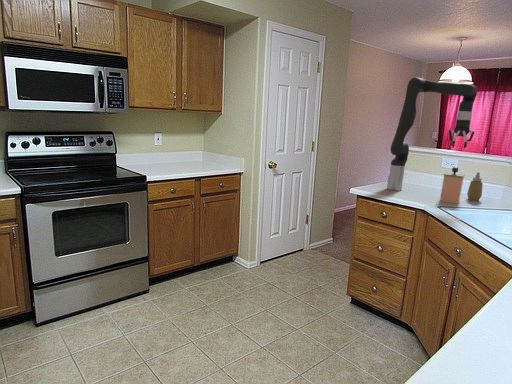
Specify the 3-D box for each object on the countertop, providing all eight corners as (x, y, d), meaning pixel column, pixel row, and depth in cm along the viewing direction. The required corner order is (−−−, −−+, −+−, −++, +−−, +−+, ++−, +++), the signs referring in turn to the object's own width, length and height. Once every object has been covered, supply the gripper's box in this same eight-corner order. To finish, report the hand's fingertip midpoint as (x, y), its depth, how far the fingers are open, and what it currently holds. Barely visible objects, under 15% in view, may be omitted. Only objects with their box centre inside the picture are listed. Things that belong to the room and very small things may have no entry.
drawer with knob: (439, 199, 228) (445, 167, 223) (442, 196, 236) (447, 165, 232) (458, 202, 222) (464, 169, 218) (460, 199, 231) (465, 167, 226)
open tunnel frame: (439, 201, 228) (444, 175, 224) (442, 198, 236) (446, 173, 233) (457, 204, 223) (462, 178, 219) (459, 201, 231) (463, 176, 227)
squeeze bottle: (473, 201, 231) (478, 173, 227) (463, 198, 239) (468, 171, 235) (483, 201, 234) (489, 173, 230) (473, 198, 241) (478, 171, 237)
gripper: (449, 118, 219) (445, 146, 223) (477, 119, 212) (472, 149, 215) (451, 118, 225) (446, 146, 229) (478, 120, 218) (472, 148, 221)
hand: (458, 147), depth 222 cm, fingers open, 5 cm apart
